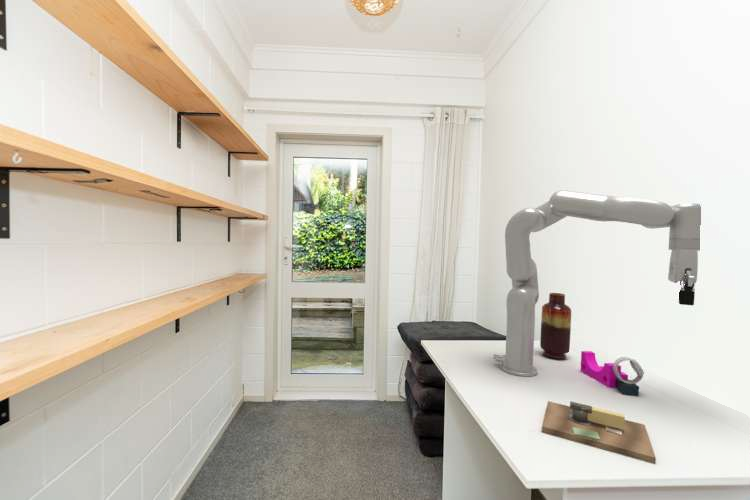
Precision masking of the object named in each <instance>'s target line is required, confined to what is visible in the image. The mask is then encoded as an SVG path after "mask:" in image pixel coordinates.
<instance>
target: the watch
mask: <svg viewBox="0 0 750 500" xmlns="http://www.w3.org/2000/svg"><path fill="white" fill-rule="evenodd" d="M625 361H629V364H630V366H631V368H632V369H633V370H634V372H635V374H636V377H635V378H633V379H628V380H626V379H622V377H621V376H620V374H619V372H618V368H617V366H618V365H620V363H621V362H625ZM613 363H614V365H613V370H614V373H615V375H616V376H617V377H618V378H616V387H615V388H614V389H616V390H618V392H619V393H620V394H621V395H623V396H632V397H639V392H640V386H638V385H637V384H638V383H640V381H641V380H642V379H643V378H644V375H645V372H644V370H643V368H642V367H641V365H640V363H639V362H638V361H637V360H636V359H634V358H630V357H628V356H624V357H622V356H621V357H619V358H617V359H616V360H615V361H614V362H613Z"/></svg>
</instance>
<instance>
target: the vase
mask: <svg viewBox="0 0 750 500" xmlns="http://www.w3.org/2000/svg"><path fill="white" fill-rule="evenodd" d="M548 296H549V297H548V302H547V303H544V304H543V305H542V307H541V319H540V320H541V323H540V344H539V346H540V349H542V350H543V351H542V355H543V356H545V357H548V358H552V359H558V360H563V359H566V358H567V354H568V353H569V352H570V344H571V327H572V325H571V324H572V309H571V307H570V306H568V305H567V304H566V295H565V294H564V293H561V292H560V293H559V292H550V293H549V295H548Z"/></svg>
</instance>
